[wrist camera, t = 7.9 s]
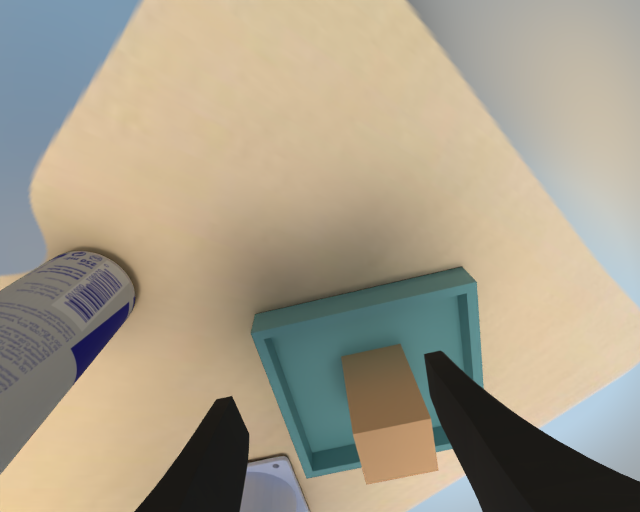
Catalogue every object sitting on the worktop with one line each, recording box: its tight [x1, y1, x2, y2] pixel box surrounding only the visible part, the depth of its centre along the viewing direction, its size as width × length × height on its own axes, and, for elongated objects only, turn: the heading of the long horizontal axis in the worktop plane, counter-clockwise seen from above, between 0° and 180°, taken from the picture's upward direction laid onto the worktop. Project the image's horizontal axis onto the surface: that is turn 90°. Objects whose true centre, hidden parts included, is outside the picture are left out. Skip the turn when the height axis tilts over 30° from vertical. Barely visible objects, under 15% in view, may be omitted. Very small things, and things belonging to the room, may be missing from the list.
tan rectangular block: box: [341, 344, 438, 485], centre depth 21 cm, size 4×4×6 cm
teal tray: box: [251, 267, 484, 478], centre depth 24 cm, size 13×13×2 cm
